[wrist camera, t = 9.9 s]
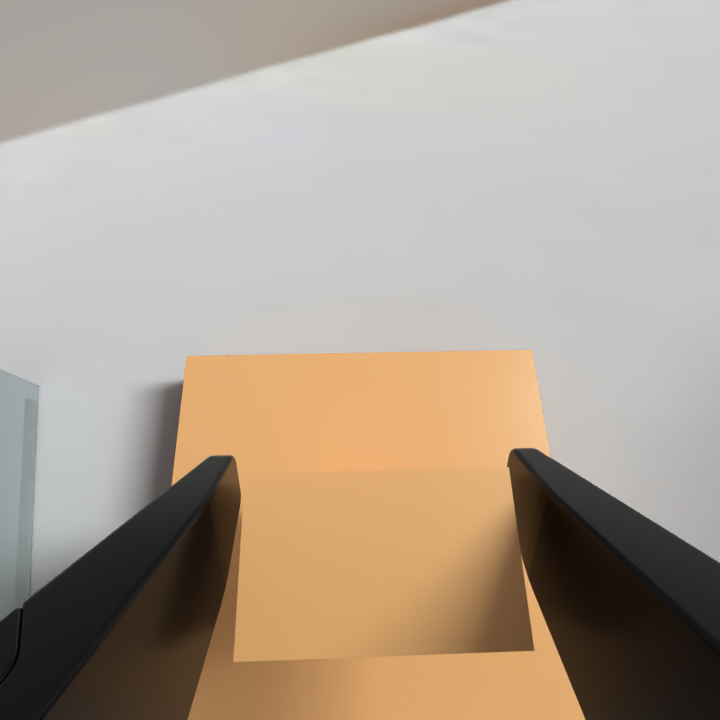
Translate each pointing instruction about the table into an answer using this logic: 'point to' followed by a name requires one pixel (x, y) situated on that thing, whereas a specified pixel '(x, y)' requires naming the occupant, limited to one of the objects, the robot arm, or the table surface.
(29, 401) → the tub
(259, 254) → the table surface
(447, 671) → the lid
